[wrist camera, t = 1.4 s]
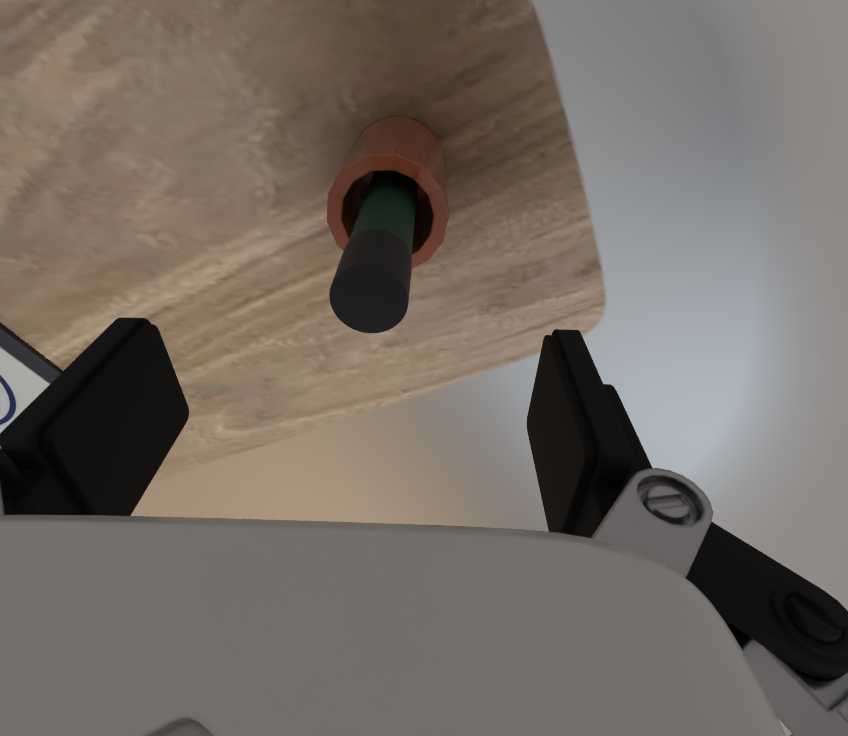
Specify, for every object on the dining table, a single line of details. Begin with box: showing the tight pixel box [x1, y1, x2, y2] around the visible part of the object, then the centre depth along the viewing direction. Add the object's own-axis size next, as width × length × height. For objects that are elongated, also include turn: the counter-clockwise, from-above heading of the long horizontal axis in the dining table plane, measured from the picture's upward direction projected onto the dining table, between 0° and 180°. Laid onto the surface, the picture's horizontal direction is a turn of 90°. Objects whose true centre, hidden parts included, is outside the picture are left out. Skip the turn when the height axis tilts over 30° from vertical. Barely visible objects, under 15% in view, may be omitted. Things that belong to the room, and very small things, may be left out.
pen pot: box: [327, 116, 449, 268], centre depth 22 cm, size 5×5×7 cm
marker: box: [330, 170, 418, 333], centre depth 19 cm, size 2×2×13 cm
